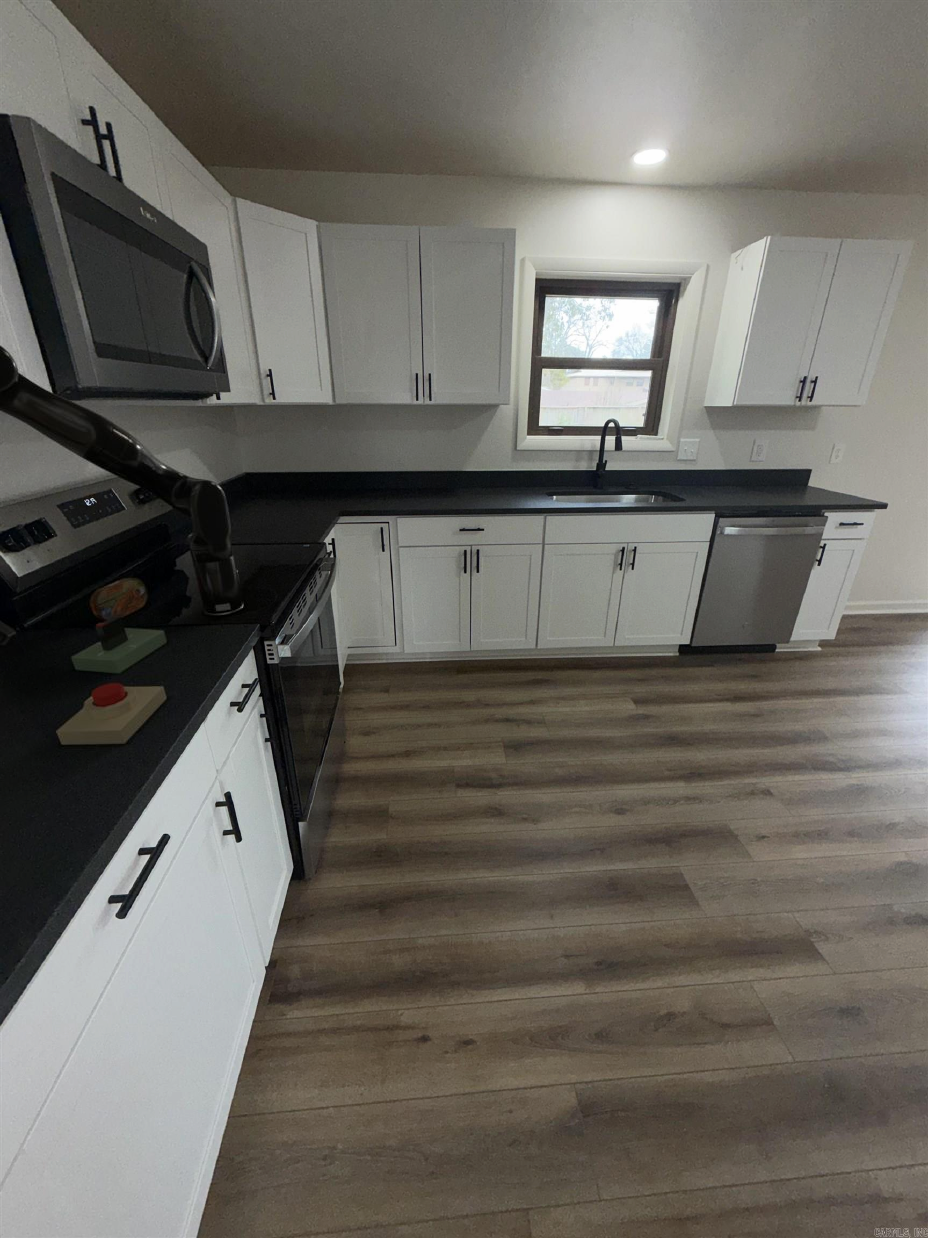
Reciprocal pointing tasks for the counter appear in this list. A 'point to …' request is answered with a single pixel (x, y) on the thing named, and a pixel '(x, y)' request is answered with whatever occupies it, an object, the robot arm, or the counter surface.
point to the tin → (119, 598)
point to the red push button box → (112, 718)
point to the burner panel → (120, 652)
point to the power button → (108, 694)
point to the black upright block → (111, 633)
